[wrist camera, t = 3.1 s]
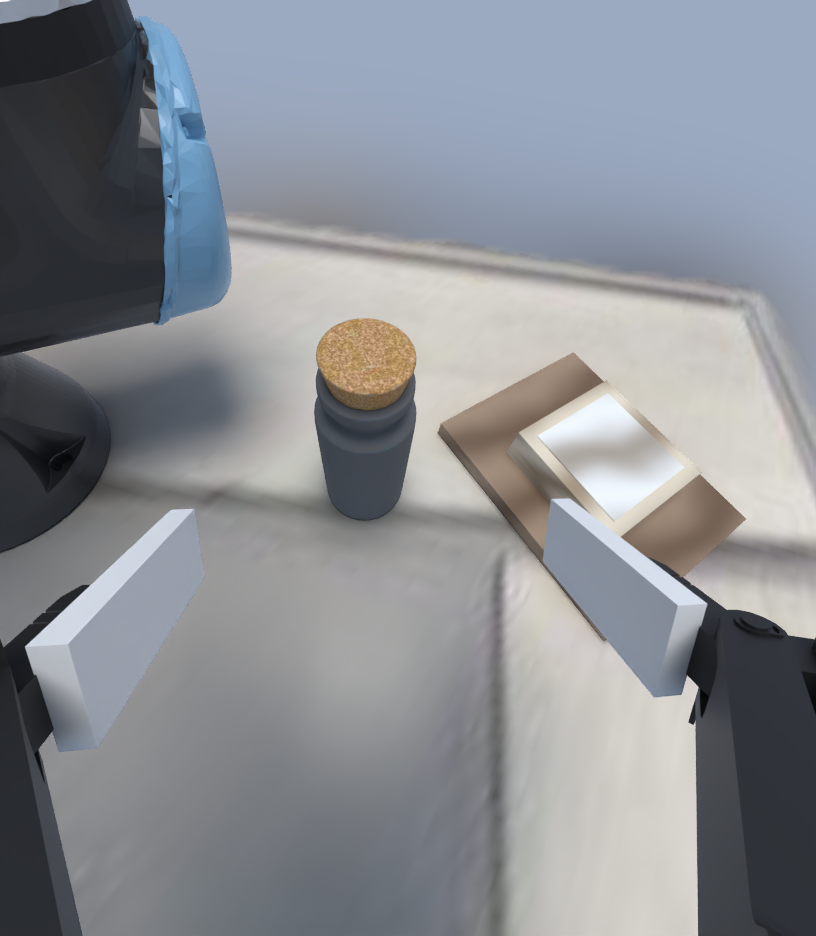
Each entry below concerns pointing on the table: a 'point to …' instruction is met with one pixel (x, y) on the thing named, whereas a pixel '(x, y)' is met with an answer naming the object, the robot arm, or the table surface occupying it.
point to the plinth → (588, 466)
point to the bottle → (365, 414)
